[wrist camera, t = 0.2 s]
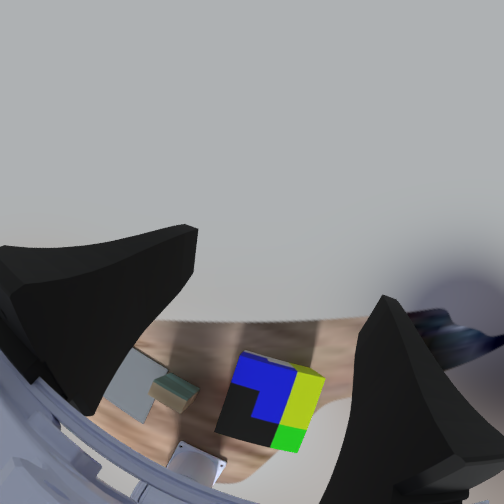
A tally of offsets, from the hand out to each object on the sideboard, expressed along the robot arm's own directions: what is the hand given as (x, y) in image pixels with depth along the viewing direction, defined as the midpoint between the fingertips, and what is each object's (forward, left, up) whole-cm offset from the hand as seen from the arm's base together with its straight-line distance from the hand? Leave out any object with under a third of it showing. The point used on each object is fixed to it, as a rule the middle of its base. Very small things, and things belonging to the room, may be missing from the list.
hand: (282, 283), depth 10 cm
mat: (-19, +14, -31) cm, 39 cm away
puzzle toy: (-9, -5, -31) cm, 33 cm away
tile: (-15, +7, -31) cm, 35 cm away
